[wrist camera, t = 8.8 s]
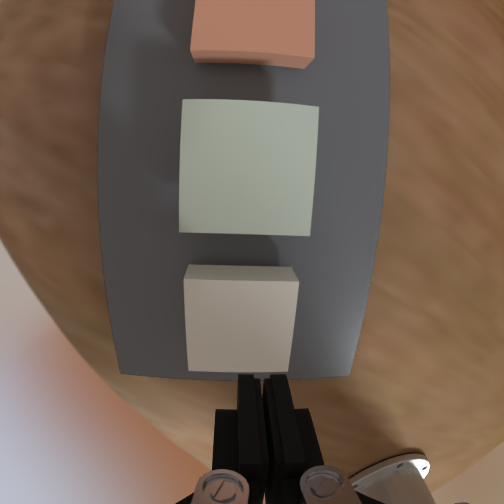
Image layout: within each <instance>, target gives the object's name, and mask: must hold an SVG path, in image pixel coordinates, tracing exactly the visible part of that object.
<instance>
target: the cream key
mask: <svg viewBox="0 0 504 504" xmlns="http://www.w3.org/2000/svg"><path fill="white" fill-rule="evenodd" d="M298 289H299V280H298V278H297V276H296V274H295V272H294V271H293V269H292V267H276V266H233V265H195V264H189V265H188V268H187V270H186V273H185V276H184V305H185V326H186V343H187V358H188V371H203V372H288V367H289V360H290V353H291V345H292V338H293V330H294V322H295V314H296V306H297V297H298Z"/></svg>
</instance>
